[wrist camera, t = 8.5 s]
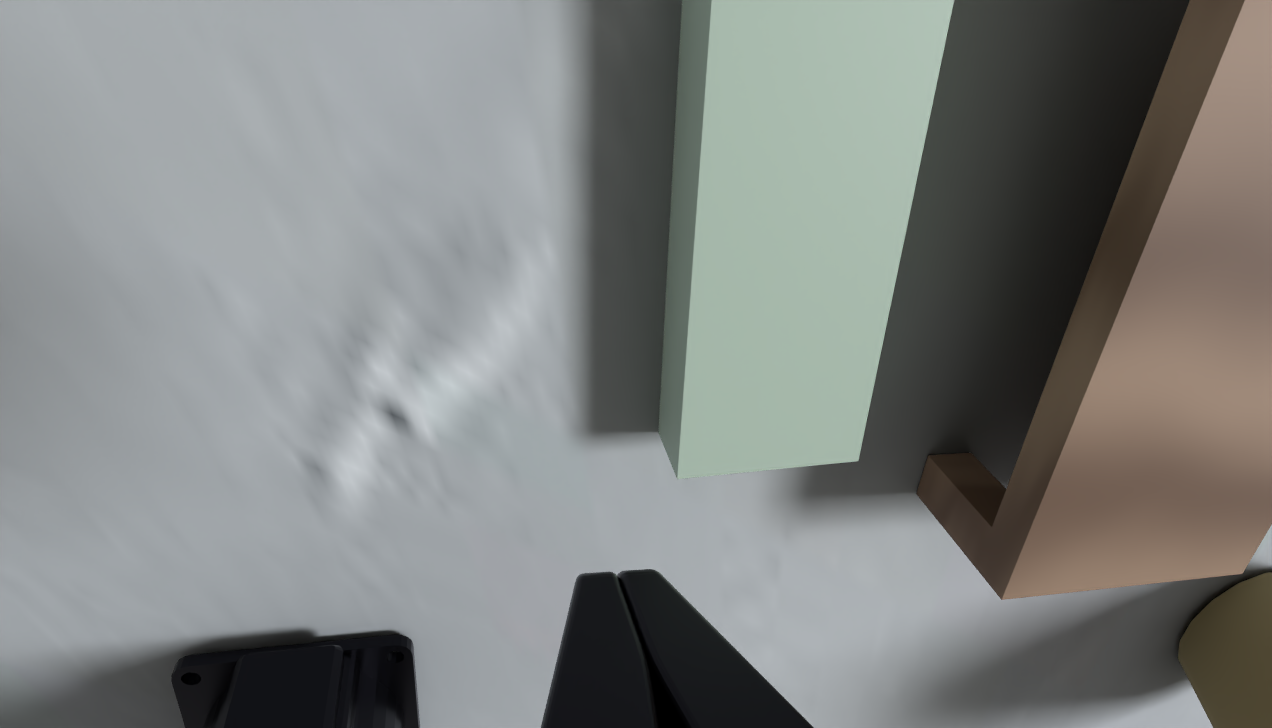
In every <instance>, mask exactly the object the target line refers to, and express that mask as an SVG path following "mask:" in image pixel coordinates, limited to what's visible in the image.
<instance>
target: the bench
mask: <svg viewBox="0 0 1272 728" xmlns="http://www.w3.org/2000/svg"><path fill="white" fill-rule="evenodd" d="M916 494H917V495H918V497H919V498H920V499H921V500H922V502H923V503H924V504H925V505H926V506H927V508H928V509H929V510H930V511H931V513H932V514H933V515H934V516H935V518H936V519H937V520H938V521H939V523H940V524H941V525H942V526H943V528H944V529H945V530H946V531H947V533H948V534H949V535H950V536H951V538H952V539H953V540H954V541H955V542H956V544H957V545H958V546H959V547H960V549H961V550H962V551H963V552H964V554H965V555H966V556H967V557H968V559H969V560H970V561H971V562H972V564H973V565H974V566H975V567H976V569H977V570H978V571H979V572H980V574H981V575H982V576H983V577H984V578H985V580H986V581H987V582H988V583H989V585H990V586H991V587H992V588H993V590H994V591H995V592H996V593H997V595H998V596H999V597H1000V598H1001V600H1004V599H1013V598H1023V597H1032V596H1041V595H1050V594H1060V593H1069V592H1078V591H1088V590H1097V589H1106V588H1116V587H1125V586H1134V585H1144V584H1153V583H1162V582H1172V581H1181V580H1190V579H1199V578H1209V577H1218V576H1227V575H1237V574H1243V572H1244V570H1245V569H1246V567H1247V565H1248V563H1249V562H1250V560H1251V558H1252V557H1253V555H1254V553H1255V552H1256V550H1257V548H1258V547H1259V545H1260V543H1261V541H1262V540H1263V538H1264V536H1265V535H1266V533H1267V531H1268V530H1269V528H1270V526H1271V525H1272V0H1190V1H1189V4H1188V7H1187V9H1186V12H1185V15H1184V17H1183V20H1182V23H1181V25H1180V28H1179V31H1178V33H1177V36H1176V39H1175V41H1174V44H1173V47H1172V49H1171V52H1170V55H1169V57H1168V60H1167V63H1166V65H1165V68H1164V70H1163V73H1162V76H1161V78H1160V81H1159V84H1158V86H1157V89H1156V92H1155V94H1154V97H1153V100H1152V102H1151V105H1150V108H1149V110H1148V113H1147V116H1146V118H1145V121H1144V124H1143V126H1142V129H1141V132H1140V134H1139V137H1138V140H1137V142H1136V145H1135V148H1134V150H1133V153H1132V156H1131V158H1130V161H1129V164H1128V166H1127V169H1126V172H1125V174H1124V177H1123V180H1122V182H1121V185H1120V188H1119V190H1118V193H1117V196H1116V198H1115V201H1114V204H1113V206H1112V209H1111V212H1110V214H1109V217H1108V220H1107V222H1106V225H1105V228H1104V230H1103V233H1102V236H1101V238H1100V241H1099V244H1098V246H1097V249H1096V252H1095V254H1094V257H1093V260H1092V262H1091V265H1090V268H1089V270H1088V273H1087V276H1086V278H1085V281H1084V284H1083V286H1082V289H1081V292H1080V294H1079V297H1078V300H1077V302H1076V305H1075V308H1074V310H1073V313H1072V316H1071V318H1070V321H1069V324H1068V326H1067V329H1066V332H1065V334H1064V337H1063V339H1062V342H1061V345H1060V347H1059V350H1058V353H1057V355H1056V358H1055V361H1054V363H1053V366H1052V369H1051V371H1050V374H1049V377H1048V379H1047V382H1046V385H1045V387H1044V390H1043V393H1042V395H1041V398H1040V401H1039V403H1038V406H1037V409H1036V411H1035V414H1034V417H1033V419H1032V422H1031V425H1030V427H1029V430H1028V433H1027V435H1026V438H1025V441H1024V443H1023V446H1022V449H1021V451H1020V454H1019V457H1018V459H1017V462H1016V465H1015V467H1014V470H1013V473H1012V475H1011V478H1010V481H1009V483H1008V486H1007V489H1006V488H1005V487H1004V486H1003V485H1002V484H1001V483H1000V482H999V481H998V480H997V479H996V478H995V477H994V476H993V475H992V474H991V473H990V472H989V471H988V470H987V469H986V468H985V467H984V466H983V465H982V464H981V463H980V462H979V461H978V459H977V458H976V457H975V456H974V455H973V454H972V453H958V454H942V455H928V457H927V461H926V464H925V467H924V470H923V474H922V477H921V480H920V483H919V487H918V490H917V493H916Z"/></svg>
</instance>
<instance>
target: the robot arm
mask: <svg viewBox="0 0 1272 728" xmlns="http://www.w3.org/2000/svg"><path fill="white" fill-rule="evenodd" d="M393 651H399V652H397V653H394V652H393ZM190 672H191V673H190ZM172 684H173V688H174V691H175V694H176V698H177V701H178V704H179V708H180V711H181V714H182V718H183V721H184V725H185V728H420V721H419V709H418V697H417V684H416V672H415V660H414V647H413V643H412V640H410V639H409V638H408V637H406V636H403V635H387V636H377V637H367V638H357V639H347V640H337V641H327V642H317V643H307V644H297V645H287V646H277V647H267V648H257V649H247V650H237V651H227V652H217V653H207V654H197V655H189V656H185V657H183V658H181V659H180V660H179V661H178V662H177V663H176V665H175V668H174V671H173V674H172ZM541 728H813V727H812V725H811V724H810V723H809V722H808V721H807V720H806V719H805V718H804V717H803V716H802V715H801V714H800V713H799V712H798V711H797V710H796V709H795V708H794V707H793V706H792V705H791V704H790V703H789V702H788V701H787V700H786V699H785V698H784V697H783V696H782V695H781V694H780V693H779V692H778V691H777V690H776V689H775V688H774V687H773V686H772V685H771V684H770V683H769V682H768V681H767V680H766V679H765V678H764V677H763V676H762V675H761V674H760V673H759V672H758V671H757V670H756V669H755V668H754V667H753V666H752V665H751V664H750V663H749V662H748V661H747V660H746V659H745V658H744V657H743V656H742V655H741V654H740V653H739V652H738V651H737V650H736V649H735V648H734V647H733V646H732V645H731V644H730V643H729V642H728V641H727V640H726V639H725V638H724V637H723V636H722V635H721V634H720V633H719V632H718V631H717V630H716V629H715V628H714V627H713V626H712V625H711V624H710V623H709V622H708V621H707V620H706V619H705V618H704V617H703V616H702V615H701V614H700V613H699V612H698V611H697V610H696V609H695V608H694V607H693V606H692V605H691V604H690V603H689V602H688V601H687V600H686V599H685V598H684V597H683V596H682V595H681V594H680V593H679V592H678V591H677V590H676V589H675V588H674V587H673V586H672V585H671V584H670V583H669V582H668V581H667V580H666V579H665V578H664V577H663V576H662V575H661V574H660V573H659V572H657V571H655V570H652V569H645V570H629V571H622V572H620V573H619V574H618V575H616V574H614V573H613V572H599V573H584V574H580V575H579V576H578V577H577V579H576V582H575V586H574V590H573V595H572V599H571V603H570V607H569V611H568V616H567V620H566V624H565V628H564V633H563V637H562V641H561V645H560V649H559V654H558V658H557V662H556V666H555V671H554V675H553V679H552V683H551V687H550V692H549V696H548V700H547V704H546V709H545V713H544V717H543V721H542V725H541Z"/></svg>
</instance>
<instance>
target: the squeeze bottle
mask: <svg viewBox="0 0 1272 728" xmlns="http://www.w3.org/2000/svg"><path fill="white" fill-rule="evenodd" d="M1178 660H1179V662H1180V664H1181V666H1182V668H1183V669H1184V671H1185V673H1186V675H1187V677H1188V679H1189V681H1190V683H1191V685H1192V687H1193V689H1194V691H1195V693H1196V695H1197V697H1198V699H1199V701H1200V703H1201V705H1202V706H1203V708H1204V710H1205V712H1206V714H1207V716H1208V718H1209V720H1210V722H1211V724H1212V726H1213V728H1272V572H1270V573H1264V574H1261V575H1258V576H1256V577H1253V578H1251V579H1248V580H1246V581H1243V582H1240V583H1238V584H1236V585H1235V586H1233V587H1232V588H1230V589H1229V590H1227V591H1226V592H1224V593H1223V594H1221V595H1220V596H1218V597H1216V598H1215V599H1213V600H1212V601H1211V602H1210V603H1209V604H1208V605H1207V606H1206V607H1205V608H1204V609H1203V610H1202V611H1201V612H1200V613H1199V614H1198V615H1197V616H1196V617H1195V618H1194V619H1193V620H1192V621H1191V623H1190V624H1189V626H1188V628H1187V629H1186V631H1185V633H1184V635H1183V636H1182V638H1181V640H1180V642H1179V651H1178Z"/></svg>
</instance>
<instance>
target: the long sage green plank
mask: <svg viewBox="0 0 1272 728" xmlns="http://www.w3.org/2000/svg"><path fill="white" fill-rule="evenodd" d="M953 4H954V0H682V10H681V28H680V46H679V65H678V83H677V101H676V119H675V137H674V156H673V174H672V192H671V210H670V229H669V247H668V265H667V283H666V301H665V320H664V338H663V356H662V374H661V392H660V411H659V429H658V432H659V434H660V437H661V440H662V442H663V445H664V447H665V450H666V452H667V455H668V457H669V460H670V462H671V465H672V467H673V470H674V472H675V475H676V477H677V479H684V478H694V477H705V476H715V475H725V474H735V473H745V472H755V471H765V470H775V469H785V468H795V467H805V466H815V465H825V464H835V463H845V462H855V461H858V460H859V455H860V451H861V446H862V441H863V436H864V431H865V427H866V422H867V417H868V412H869V407H870V402H871V398H872V393H873V388H874V383H875V378H876V374H877V369H878V364H879V359H880V354H881V350H882V345H883V340H884V335H885V330H886V326H887V321H888V316H889V311H890V306H891V302H892V297H893V292H894V287H895V282H896V278H897V273H898V268H899V263H900V258H901V254H902V249H903V244H904V239H905V234H906V229H907V225H908V220H909V215H910V210H911V205H912V201H913V196H914V191H915V186H916V181H917V177H918V172H919V167H920V162H921V157H922V153H923V148H924V143H925V138H926V133H927V129H928V124H929V119H930V114H931V109H932V105H933V100H934V95H935V90H936V85H937V80H938V76H939V71H940V66H941V61H942V56H943V52H944V47H945V42H946V37H947V32H948V28H949V23H950V18H951V13H952V8H953Z"/></svg>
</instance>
